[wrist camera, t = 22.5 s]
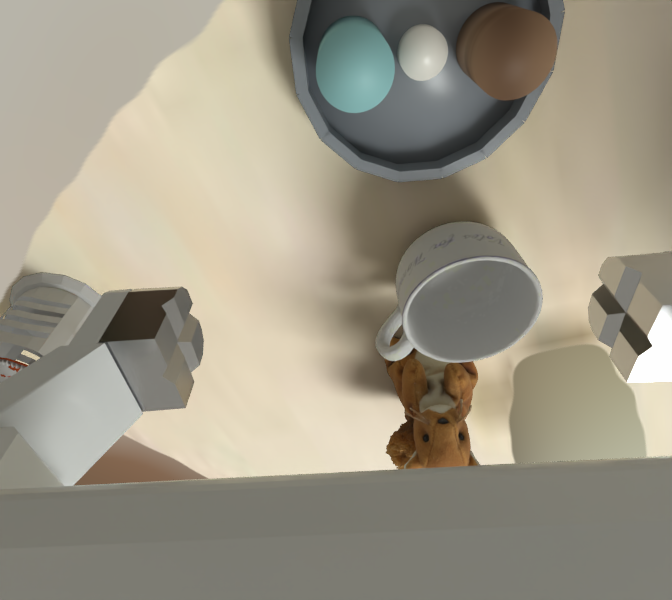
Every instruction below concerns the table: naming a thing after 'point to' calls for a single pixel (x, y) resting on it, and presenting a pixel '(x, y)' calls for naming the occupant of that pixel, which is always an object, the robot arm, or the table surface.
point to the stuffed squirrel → (432, 411)
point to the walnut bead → (506, 49)
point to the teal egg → (354, 65)
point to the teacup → (461, 296)
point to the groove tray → (412, 89)
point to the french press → (42, 318)
